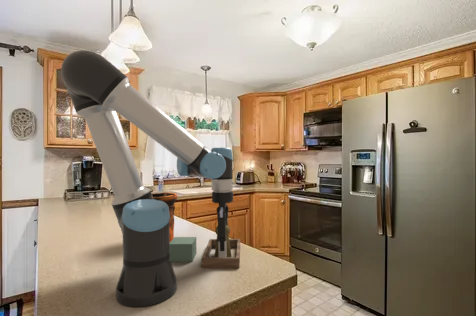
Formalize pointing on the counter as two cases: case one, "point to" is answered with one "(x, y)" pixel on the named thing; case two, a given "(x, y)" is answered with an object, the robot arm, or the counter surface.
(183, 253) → the stand
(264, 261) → the counter surface
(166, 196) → the vessel
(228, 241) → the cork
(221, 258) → the wooden frame
